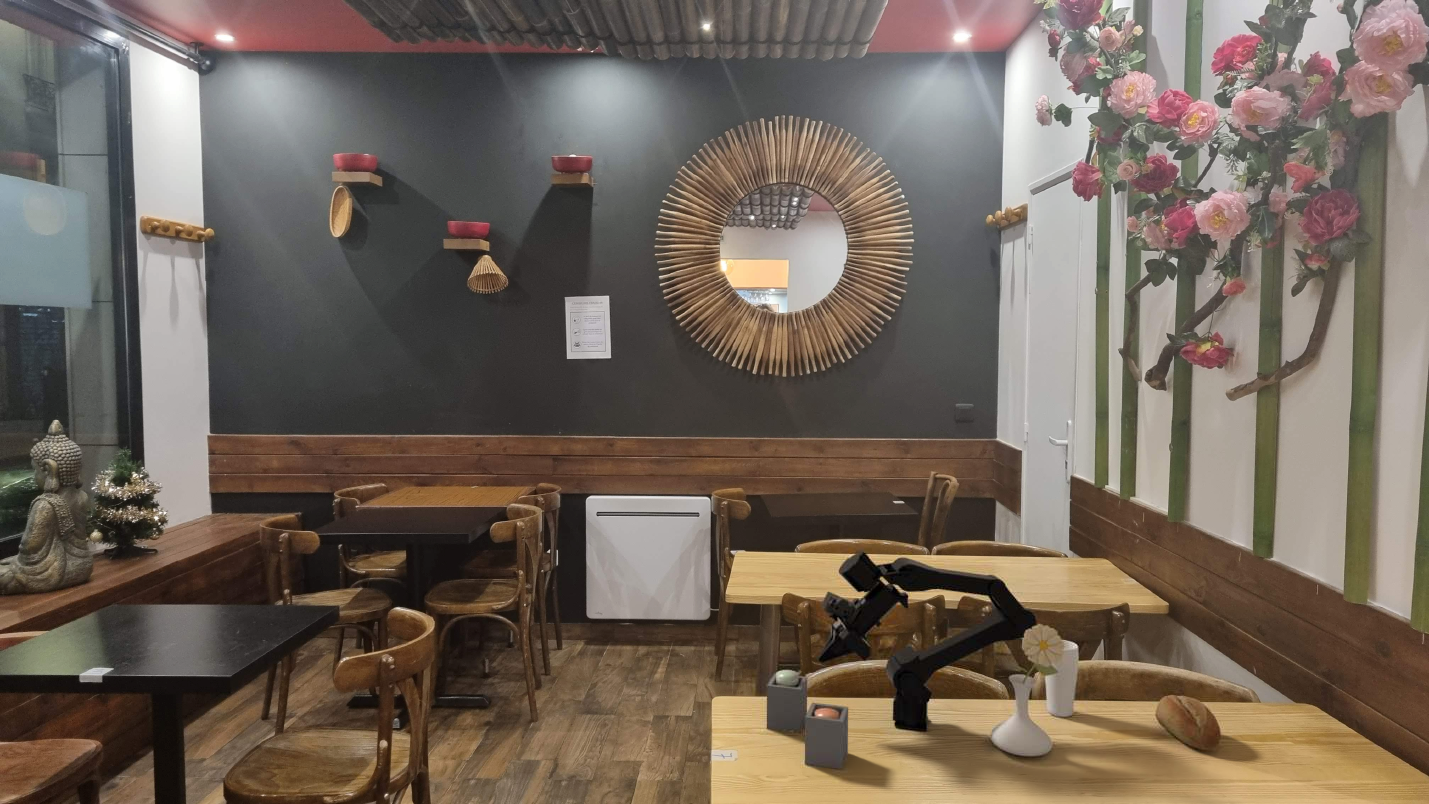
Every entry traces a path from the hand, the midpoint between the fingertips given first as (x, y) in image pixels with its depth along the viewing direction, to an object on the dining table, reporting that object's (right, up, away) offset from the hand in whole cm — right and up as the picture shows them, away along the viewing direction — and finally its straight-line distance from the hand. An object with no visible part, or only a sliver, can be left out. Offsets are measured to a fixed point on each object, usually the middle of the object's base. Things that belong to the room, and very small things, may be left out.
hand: (819, 660), depth 173 cm
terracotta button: (0, -8, -14) cm, 16 cm away
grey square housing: (0, -14, -14) cm, 20 cm away
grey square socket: (-7, -13, +1) cm, 15 cm away
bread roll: (+73, -14, -5) cm, 75 cm away
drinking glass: (+53, -14, +7) cm, 55 cm away
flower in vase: (+39, -14, -10) cm, 43 cm away
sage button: (-7, -5, +1) cm, 9 cm away
